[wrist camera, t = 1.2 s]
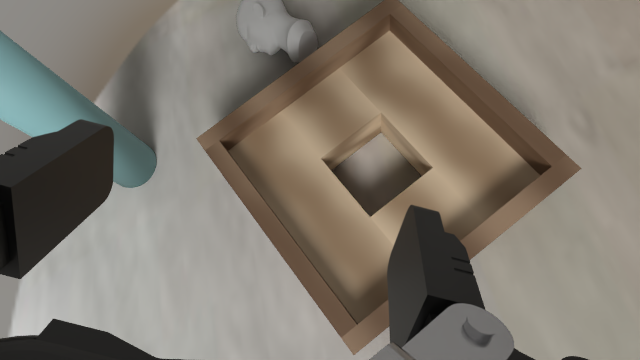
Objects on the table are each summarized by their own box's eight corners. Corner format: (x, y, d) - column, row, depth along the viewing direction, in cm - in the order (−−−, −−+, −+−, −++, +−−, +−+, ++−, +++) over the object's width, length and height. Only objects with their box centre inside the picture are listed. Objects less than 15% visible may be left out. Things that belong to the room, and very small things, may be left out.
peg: (142, 134, 39) (-59, -28, 21) (164, 168, 38) (-30, 24, 20) (104, 162, 39) (-133, 21, 21) (125, 197, 38) (-108, 77, 20)
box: (390, 39, 39) (391, -6, 34) (550, 193, 33) (581, 168, 28) (222, 165, 37) (196, 138, 32) (358, 350, 32) (353, 355, 26)
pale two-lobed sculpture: (239, 38, 43) (273, -6, 42) (295, 88, 40) (332, 42, 39) (212, 18, 39) (249, -31, 38) (272, 72, 36) (313, 21, 35)
